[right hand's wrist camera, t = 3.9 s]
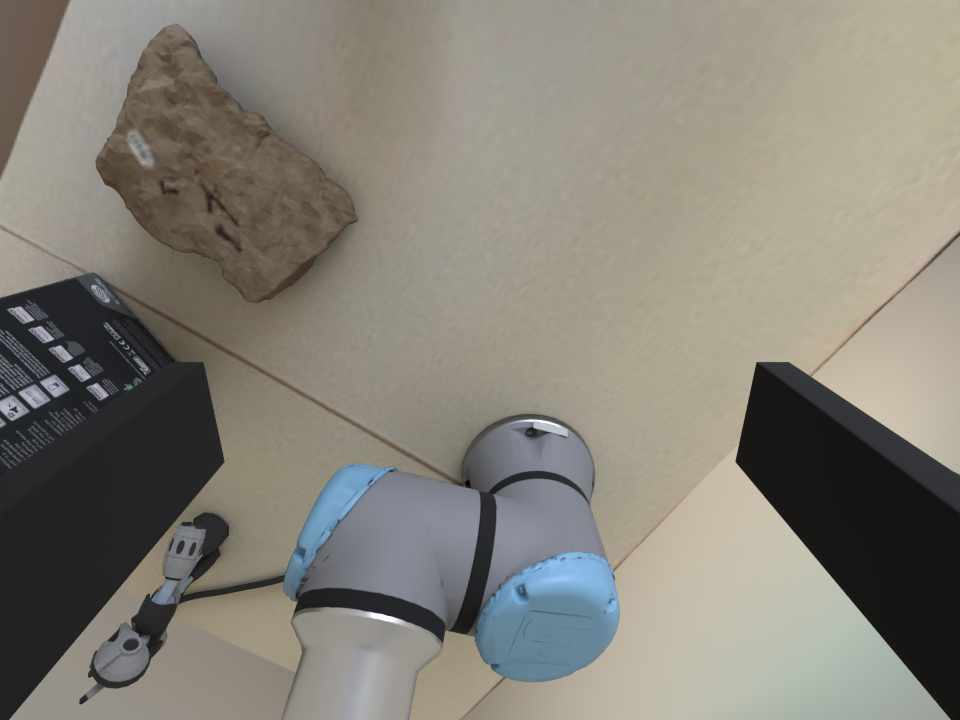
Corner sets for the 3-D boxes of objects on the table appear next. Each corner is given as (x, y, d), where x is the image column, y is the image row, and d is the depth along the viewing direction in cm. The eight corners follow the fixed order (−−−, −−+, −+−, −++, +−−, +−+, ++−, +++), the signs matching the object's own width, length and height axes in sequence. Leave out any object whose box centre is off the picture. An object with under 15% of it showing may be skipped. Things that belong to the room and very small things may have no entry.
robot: (205, 598, 68) (101, 765, 49) (168, 585, 67) (49, 750, 49) (250, 487, 62) (151, 630, 43) (210, 472, 61) (92, 611, 42)
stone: (64, 151, 45) (28, 147, 39) (179, 25, 44) (159, 4, 39) (265, 311, 54) (259, 326, 48) (364, 208, 53) (368, 212, 48)
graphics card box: (49, 299, 53) (-345, 429, 28) (96, 262, 52) (-274, 365, 26) (169, 422, 58) (-69, 627, 33) (214, 393, 57) (2, 582, 32)
